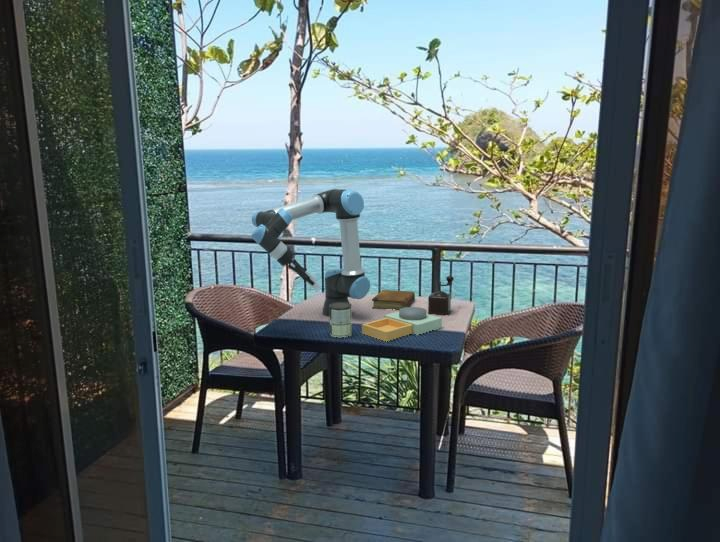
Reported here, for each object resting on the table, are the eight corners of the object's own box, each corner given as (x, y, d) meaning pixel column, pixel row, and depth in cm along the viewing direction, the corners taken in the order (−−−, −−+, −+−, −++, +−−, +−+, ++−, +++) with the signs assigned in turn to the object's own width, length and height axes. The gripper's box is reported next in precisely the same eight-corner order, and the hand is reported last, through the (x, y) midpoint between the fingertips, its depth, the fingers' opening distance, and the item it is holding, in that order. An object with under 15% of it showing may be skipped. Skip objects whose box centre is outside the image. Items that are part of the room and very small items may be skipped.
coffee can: (325, 333, 265) (324, 304, 262) (343, 329, 271) (342, 300, 268) (338, 339, 257) (337, 308, 254) (356, 334, 263) (356, 305, 260)
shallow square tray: (361, 333, 265) (361, 324, 264) (387, 326, 275) (387, 317, 275) (386, 342, 253) (386, 332, 252) (412, 334, 263) (412, 324, 262)
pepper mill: (449, 316, 293) (449, 281, 289) (427, 314, 296) (428, 280, 293) (453, 308, 307) (454, 275, 304) (433, 306, 311) (433, 274, 307)
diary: (406, 312, 303) (406, 301, 302) (372, 309, 308) (372, 299, 307) (414, 301, 325) (414, 291, 324) (382, 299, 330) (382, 289, 329)
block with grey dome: (384, 325, 278) (384, 309, 276) (408, 318, 289) (408, 303, 287) (417, 335, 262) (417, 318, 260) (441, 328, 272) (442, 311, 271)
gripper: (274, 255, 263) (307, 285, 269) (277, 265, 240) (314, 298, 245) (285, 243, 264) (318, 274, 269) (290, 252, 240) (326, 285, 245)
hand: (316, 285), depth 257 cm, fingers open, 13 cm apart
